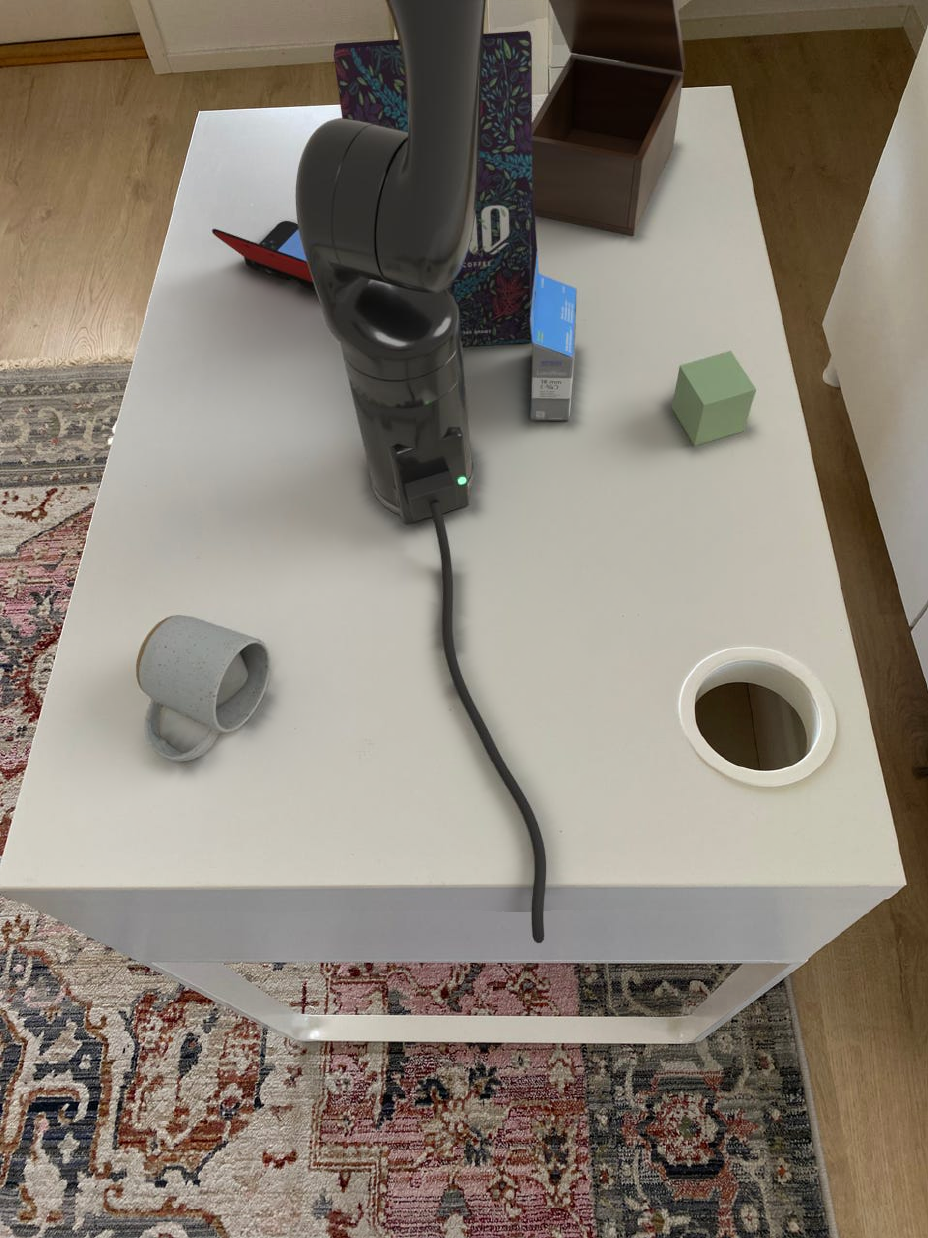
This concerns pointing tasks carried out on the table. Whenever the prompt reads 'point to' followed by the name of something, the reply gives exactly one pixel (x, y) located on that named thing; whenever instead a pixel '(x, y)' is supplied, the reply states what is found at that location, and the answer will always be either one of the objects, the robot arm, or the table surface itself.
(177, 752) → the ceramic mug
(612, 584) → the table surface
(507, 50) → the coffee bag
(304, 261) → the handheld console
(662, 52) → the lid
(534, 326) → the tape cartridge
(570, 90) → the chest
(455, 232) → the robot arm
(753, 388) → the block
